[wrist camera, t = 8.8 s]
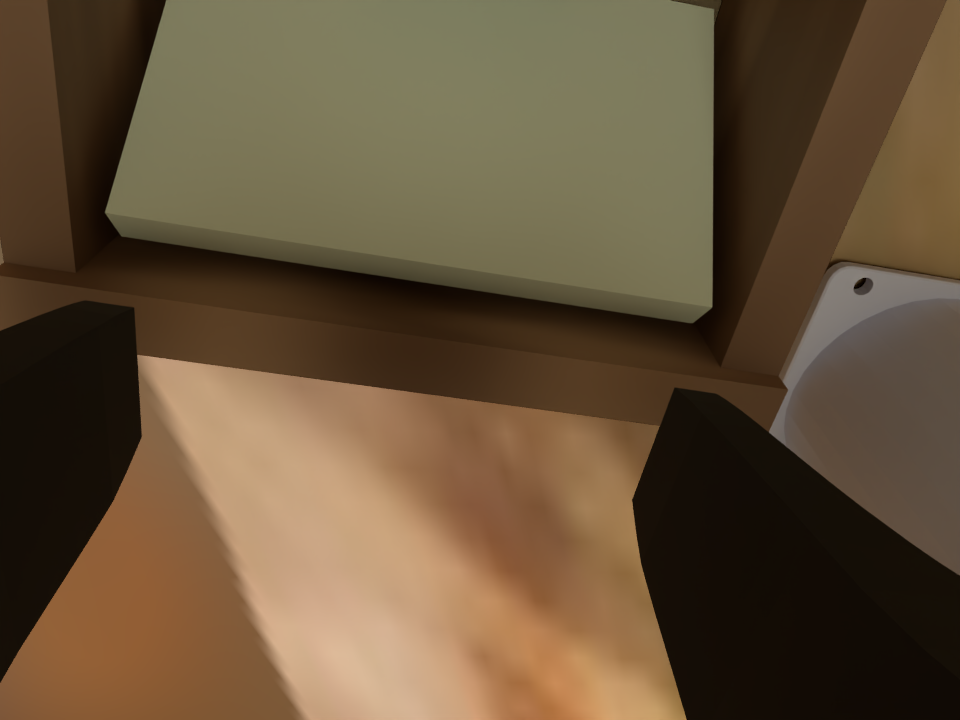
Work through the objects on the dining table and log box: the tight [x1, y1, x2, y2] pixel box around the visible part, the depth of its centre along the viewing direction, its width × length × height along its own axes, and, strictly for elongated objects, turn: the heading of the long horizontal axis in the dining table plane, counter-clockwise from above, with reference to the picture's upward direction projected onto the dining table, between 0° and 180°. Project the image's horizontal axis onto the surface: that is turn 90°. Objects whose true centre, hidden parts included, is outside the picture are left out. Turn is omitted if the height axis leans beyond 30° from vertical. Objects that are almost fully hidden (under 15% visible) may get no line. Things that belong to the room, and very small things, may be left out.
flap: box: [105, 0, 714, 323], centre depth 15 cm, size 11×7×1 cm
